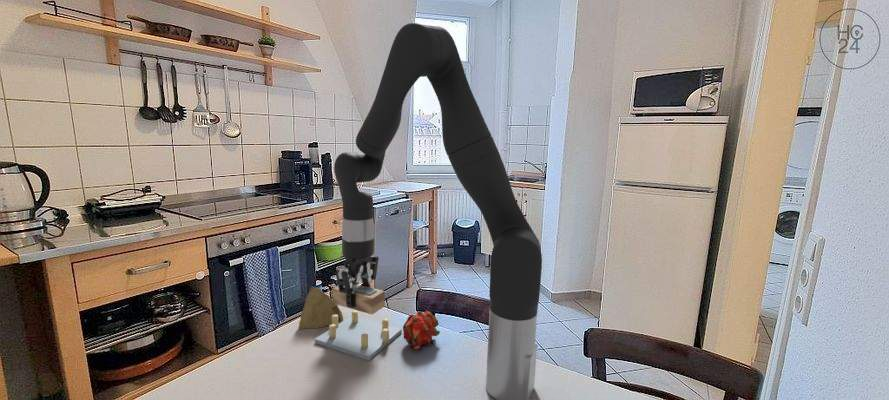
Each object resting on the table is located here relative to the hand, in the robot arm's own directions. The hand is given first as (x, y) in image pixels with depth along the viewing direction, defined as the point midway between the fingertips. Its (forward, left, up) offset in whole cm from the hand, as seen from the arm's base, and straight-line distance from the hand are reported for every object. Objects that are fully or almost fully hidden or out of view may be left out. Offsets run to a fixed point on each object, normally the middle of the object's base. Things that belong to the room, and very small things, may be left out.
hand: (358, 302), depth 94 cm
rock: (+13, -1, -10) cm, 16 cm away
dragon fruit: (-15, -5, -10) cm, 19 cm away
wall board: (0, 0, -9) cm, 9 cm away
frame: (0, 0, -1) cm, 1 cm away
